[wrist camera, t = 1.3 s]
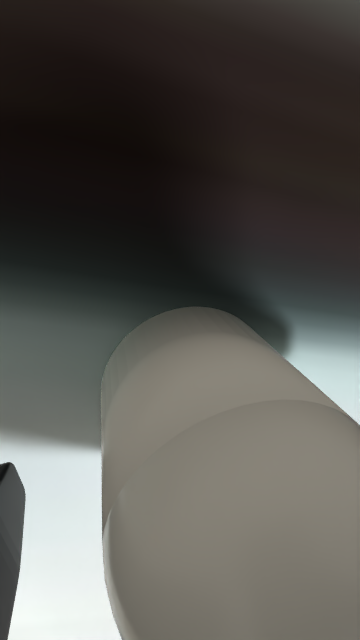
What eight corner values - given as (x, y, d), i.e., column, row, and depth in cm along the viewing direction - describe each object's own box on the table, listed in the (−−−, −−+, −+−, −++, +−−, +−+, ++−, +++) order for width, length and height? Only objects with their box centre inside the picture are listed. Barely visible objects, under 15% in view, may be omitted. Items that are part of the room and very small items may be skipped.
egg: (270, 432, 11) (494, 745, 5) (121, 475, 10) (157, 911, 4) (264, 289, 9) (619, 499, 3) (80, 329, 8) (26, 729, 2)
